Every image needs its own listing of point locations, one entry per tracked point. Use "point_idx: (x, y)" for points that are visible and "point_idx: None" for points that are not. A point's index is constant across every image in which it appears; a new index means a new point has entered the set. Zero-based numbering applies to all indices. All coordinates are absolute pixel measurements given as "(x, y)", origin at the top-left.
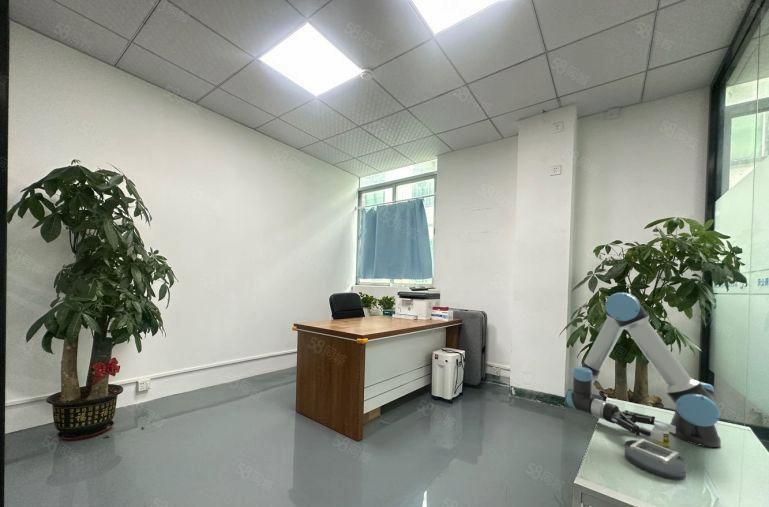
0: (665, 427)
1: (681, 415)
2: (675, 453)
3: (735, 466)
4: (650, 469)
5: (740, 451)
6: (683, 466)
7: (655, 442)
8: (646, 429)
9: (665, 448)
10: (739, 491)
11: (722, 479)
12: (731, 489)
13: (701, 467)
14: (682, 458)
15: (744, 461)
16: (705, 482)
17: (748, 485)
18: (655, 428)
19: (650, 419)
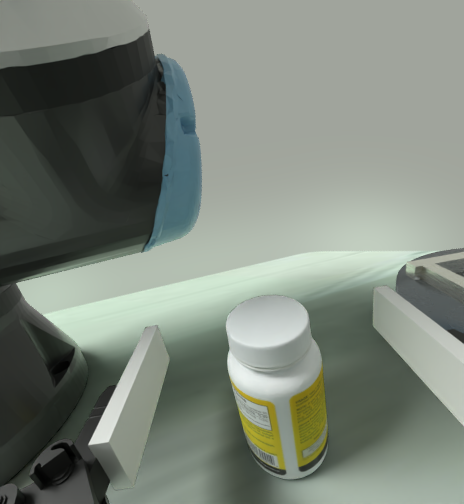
0: (281, 298)
1: (197, 206)
2: (433, 258)
3: (187, 299)
4: None
5: None
6: (456, 249)
7: (327, 424)
8: (457, 345)
9: (452, 277)
10: (324, 261)
11: (307, 279)
12: (335, 264)
13: None
14: (404, 267)
15: (129, 306)
16: (379, 276)
17: (272, 268)
18: (307, 358)
19: (94, 493)
